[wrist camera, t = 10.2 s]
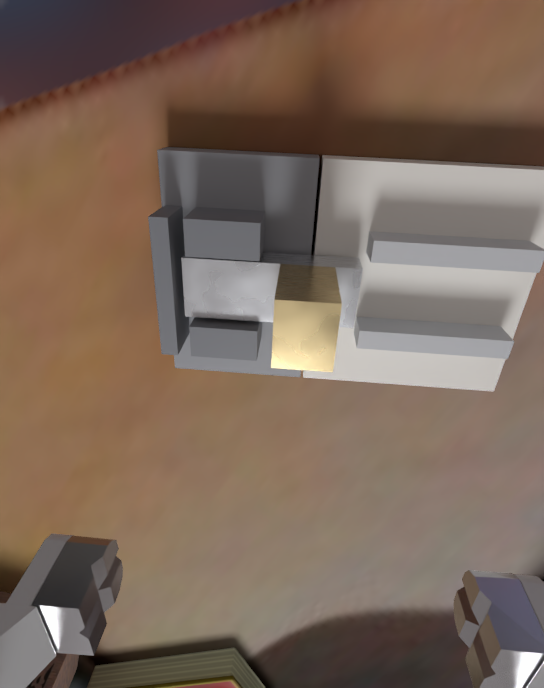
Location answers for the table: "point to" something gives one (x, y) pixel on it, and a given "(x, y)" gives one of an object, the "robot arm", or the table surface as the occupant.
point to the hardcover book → (179, 672)
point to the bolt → (280, 300)
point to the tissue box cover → (53, 666)
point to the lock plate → (359, 242)
